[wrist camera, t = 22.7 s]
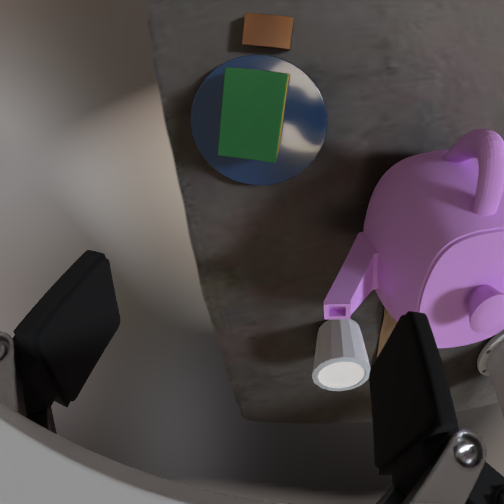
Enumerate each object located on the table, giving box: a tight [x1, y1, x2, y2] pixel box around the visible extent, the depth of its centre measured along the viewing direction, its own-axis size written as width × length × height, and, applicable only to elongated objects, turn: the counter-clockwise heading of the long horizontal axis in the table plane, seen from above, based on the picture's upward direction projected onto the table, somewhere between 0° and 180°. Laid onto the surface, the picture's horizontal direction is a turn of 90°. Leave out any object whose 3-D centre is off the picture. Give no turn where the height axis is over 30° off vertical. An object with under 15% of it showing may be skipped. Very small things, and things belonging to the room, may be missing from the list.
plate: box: [191, 55, 327, 185], centre depth 26 cm, size 12×12×1 cm
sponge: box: [218, 67, 289, 163], centre depth 23 cm, size 4×7×4 cm, turn 174°
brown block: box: [242, 13, 294, 50], centre depth 22 cm, size 4×3×1 cm
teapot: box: [324, 129, 504, 348], centre depth 22 cm, size 20×20×15 cm
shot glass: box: [312, 319, 370, 391], centre depth 36 cm, size 7×7×7 cm
